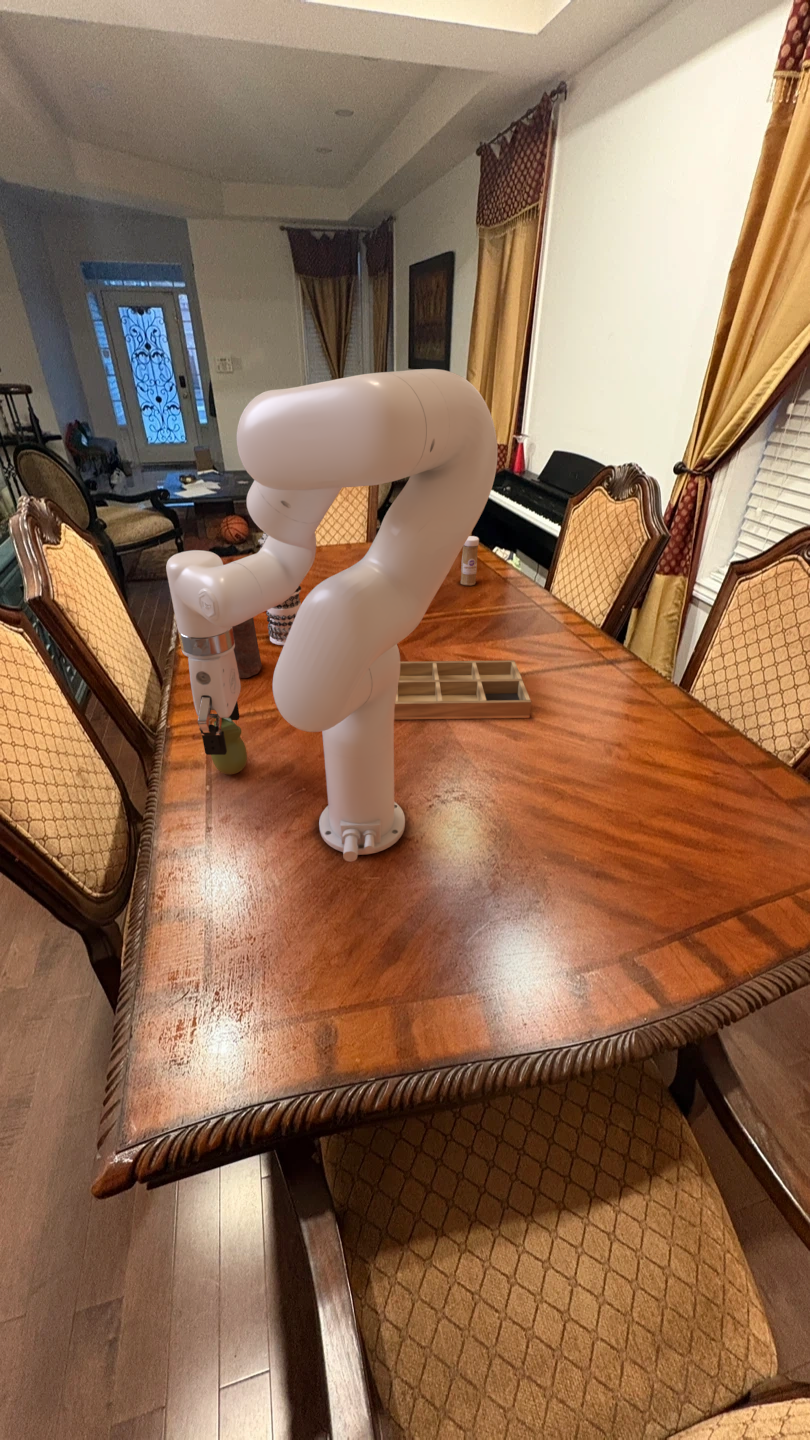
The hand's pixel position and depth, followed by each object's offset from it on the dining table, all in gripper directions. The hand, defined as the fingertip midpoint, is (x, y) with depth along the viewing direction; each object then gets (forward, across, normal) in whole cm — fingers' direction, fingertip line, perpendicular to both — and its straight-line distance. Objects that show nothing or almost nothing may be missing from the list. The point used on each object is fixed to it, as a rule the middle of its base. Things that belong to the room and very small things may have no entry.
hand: (223, 735), depth 98 cm
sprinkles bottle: (+7, +90, -51) cm, 103 cm away
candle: (+8, +36, +4) cm, 37 cm away
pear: (+7, 0, -1) cm, 7 cm away
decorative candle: (+8, +53, -3) cm, 53 cm away
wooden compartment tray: (+6, +24, -41) cm, 47 cm away
